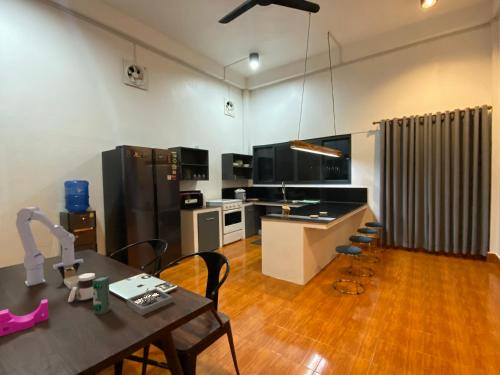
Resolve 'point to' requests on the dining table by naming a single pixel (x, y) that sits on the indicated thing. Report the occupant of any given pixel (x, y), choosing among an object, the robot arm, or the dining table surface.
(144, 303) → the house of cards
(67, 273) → the pine crate
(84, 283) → the spread jar
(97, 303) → the can
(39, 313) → the magenta saddle bracket
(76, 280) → the white square tray
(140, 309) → the grey square tray
